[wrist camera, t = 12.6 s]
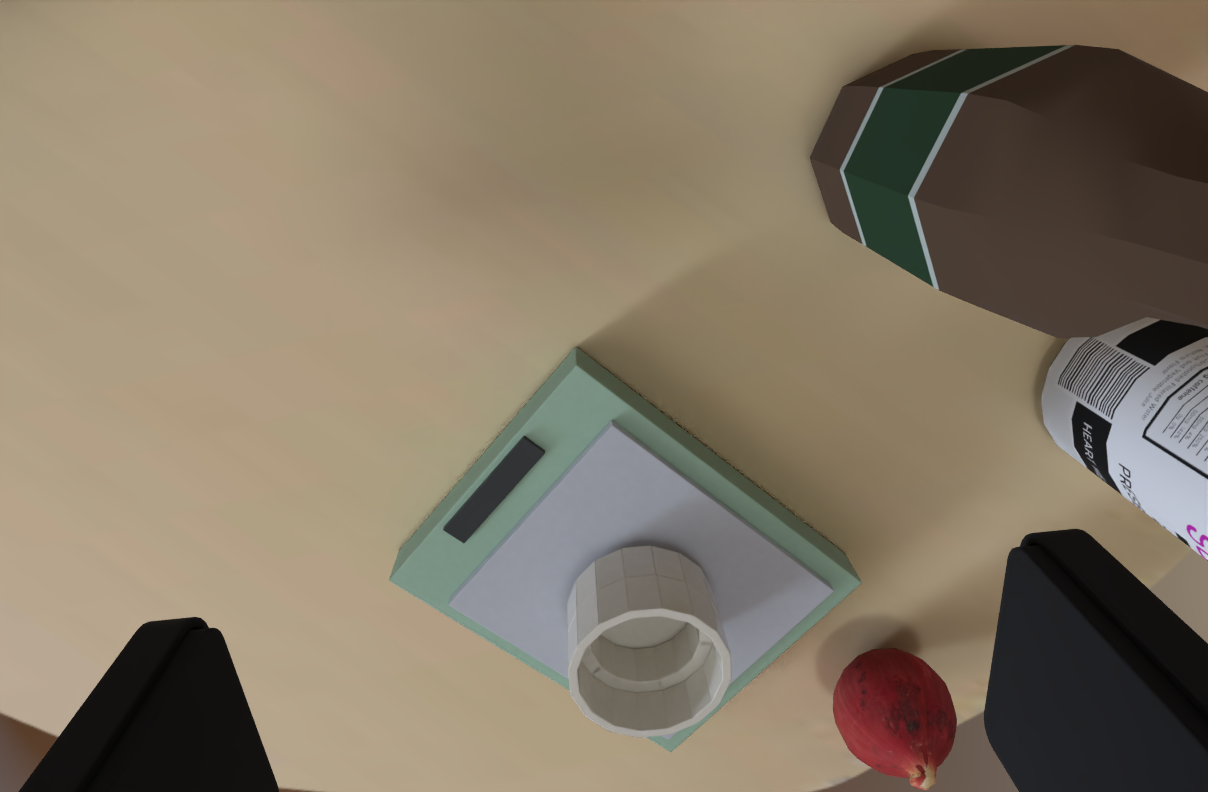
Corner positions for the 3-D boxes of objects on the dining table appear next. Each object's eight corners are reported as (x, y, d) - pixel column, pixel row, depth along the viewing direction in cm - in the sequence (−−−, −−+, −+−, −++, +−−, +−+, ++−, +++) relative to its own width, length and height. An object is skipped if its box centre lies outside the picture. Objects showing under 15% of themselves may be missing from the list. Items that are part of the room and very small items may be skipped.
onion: (817, 621, 42) (870, 739, 35) (923, 612, 42) (1000, 728, 35) (813, 703, 44) (862, 831, 37) (913, 695, 44) (983, 821, 37)
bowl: (538, 609, 37) (535, 686, 32) (633, 513, 35) (644, 580, 31) (645, 678, 39) (655, 760, 34) (740, 591, 37) (765, 665, 33)
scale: (398, 551, 39) (385, 588, 36) (575, 346, 35) (577, 369, 32) (665, 718, 44) (672, 762, 41) (846, 554, 40) (866, 590, 38)
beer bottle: (1005, 48, 31) (2081, 9, 9) (974, 243, 34) (1722, 568, 12) (811, 54, 31) (1433, 26, 9) (797, 249, 34) (1233, 594, 12)
